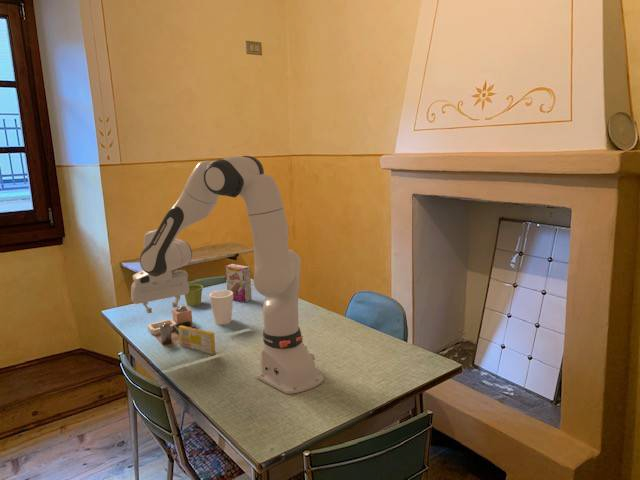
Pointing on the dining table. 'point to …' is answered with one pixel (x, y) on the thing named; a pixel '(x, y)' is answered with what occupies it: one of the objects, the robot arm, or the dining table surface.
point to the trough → (157, 324)
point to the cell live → (165, 333)
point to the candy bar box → (239, 282)
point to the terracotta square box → (182, 316)
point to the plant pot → (194, 295)
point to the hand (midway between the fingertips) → (162, 309)
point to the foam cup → (222, 306)
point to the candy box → (197, 339)
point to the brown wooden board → (175, 333)
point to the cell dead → (181, 309)
